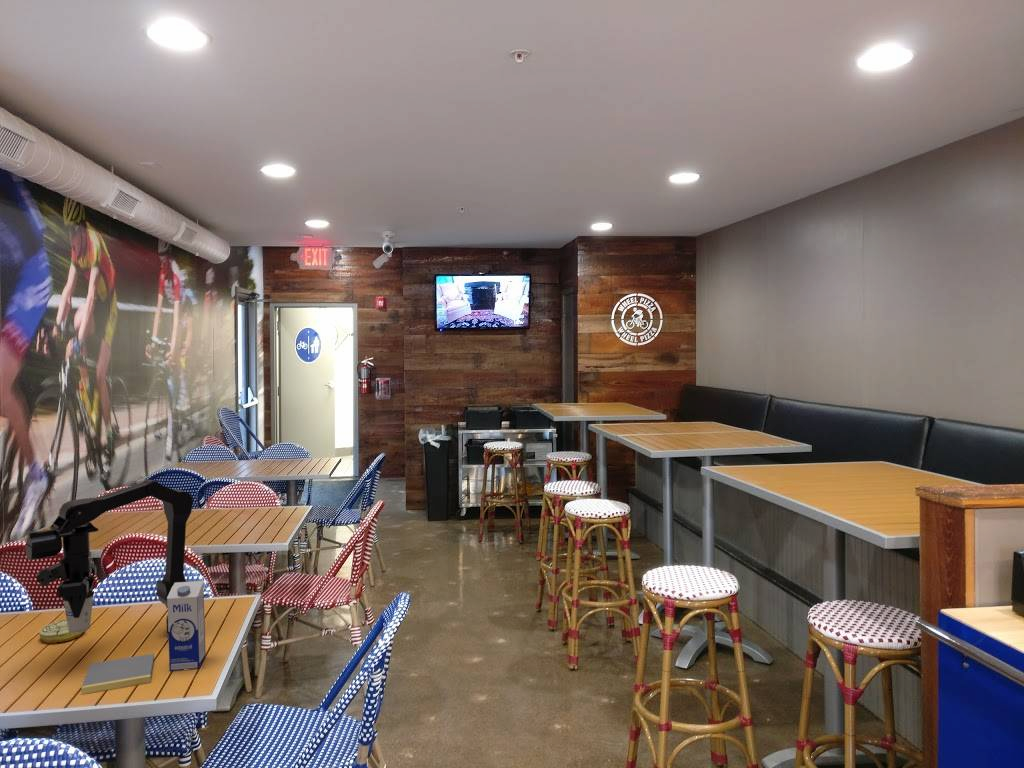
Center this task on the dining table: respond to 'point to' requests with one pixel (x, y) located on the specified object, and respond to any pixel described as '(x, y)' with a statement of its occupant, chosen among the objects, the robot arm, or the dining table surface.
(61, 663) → the dining table surface
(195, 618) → the milk carton
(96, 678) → the dock
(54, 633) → the decorated donut
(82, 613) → the coffee cup
